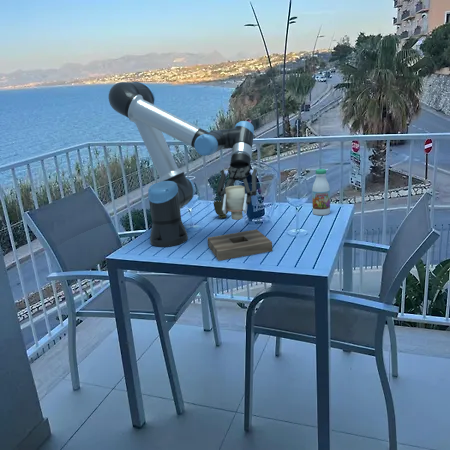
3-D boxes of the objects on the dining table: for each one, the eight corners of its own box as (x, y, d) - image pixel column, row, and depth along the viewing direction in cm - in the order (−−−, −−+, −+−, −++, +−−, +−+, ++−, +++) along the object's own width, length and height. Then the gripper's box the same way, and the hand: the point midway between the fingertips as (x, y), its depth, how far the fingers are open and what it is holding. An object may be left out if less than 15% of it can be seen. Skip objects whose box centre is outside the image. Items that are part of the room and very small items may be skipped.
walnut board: (208, 246, 156) (207, 237, 155) (257, 237, 161) (256, 229, 160) (218, 260, 141) (217, 251, 140) (272, 251, 146) (272, 241, 145)
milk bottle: (310, 212, 188) (309, 169, 182) (325, 210, 189) (325, 167, 183) (316, 216, 181) (315, 172, 175) (332, 214, 182) (332, 170, 176)
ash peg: (225, 217, 150) (223, 187, 146) (243, 214, 151) (241, 184, 148) (230, 222, 143) (228, 190, 140) (249, 219, 145) (247, 188, 142)
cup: (228, 220, 187) (227, 203, 184) (213, 220, 188) (211, 203, 186) (231, 215, 194) (230, 198, 191) (216, 215, 195) (215, 199, 193)
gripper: (268, 162, 154) (263, 216, 144) (218, 164, 159) (210, 216, 149) (265, 150, 147) (260, 206, 137) (213, 153, 152) (204, 206, 142)
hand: (234, 211), depth 143 cm, fingers closed on ash peg, 7 cm apart
